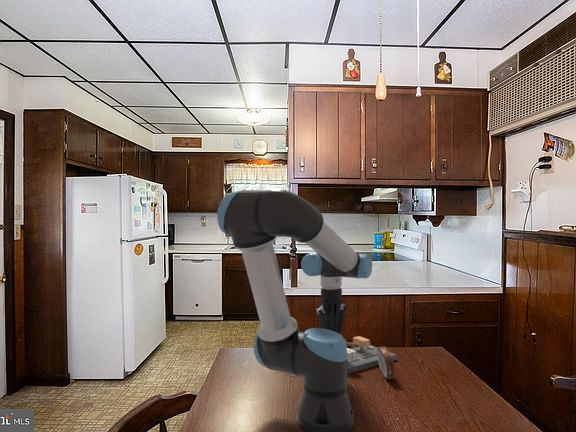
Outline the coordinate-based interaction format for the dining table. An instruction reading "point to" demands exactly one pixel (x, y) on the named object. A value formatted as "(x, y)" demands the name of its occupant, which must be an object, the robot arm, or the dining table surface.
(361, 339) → the fader orange
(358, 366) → the console
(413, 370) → the dining table surface
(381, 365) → the tin
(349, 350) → the fader cream
